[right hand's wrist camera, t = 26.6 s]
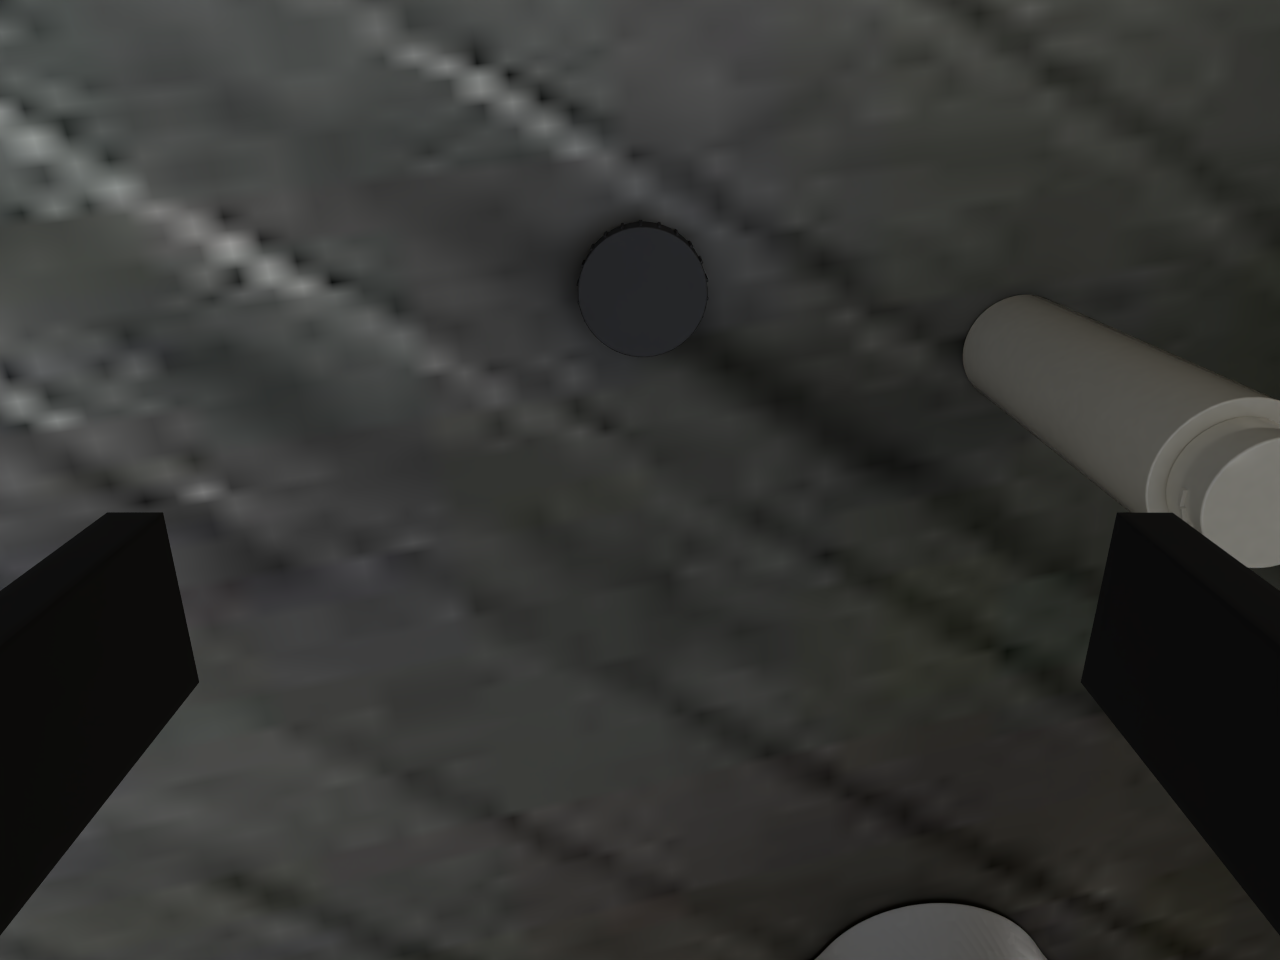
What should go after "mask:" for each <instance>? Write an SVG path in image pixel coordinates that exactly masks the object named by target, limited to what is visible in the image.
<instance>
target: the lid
mask: <svg viewBox="0 0 1280 960" xmlns="http://www.w3.org/2000/svg"><path fill="white" fill-rule="evenodd" d="M702 263H703V262H702V259H701V257H700V256H699V257H698V256H697V254H696V252H695V250H694V249H693V246H692V243H691V242H690V241H689V242H688V241H687V240H686V239H685V238H684V237H682V236H681V235H680V234H679V233H678V231H677V230H676V229H675V230H672V229H670V228H668V227H666V226H663V225H661V223H660V222H658V223H651V222H642V220H639V222H634V223H629V224H625V225H624V223H622V224H621V226H619V227H617V228H615V229H613V230H611V231H610V232H607V231H606V232H605V234H604V236H603V237H602V238H601V239H600V240H599V241H598V242H597V243H596V244H595V245H594V244H592V246H591V249H590V252H589V254H588V256H587V258H586V260H583V263H582V265H581V267H582V271H581V274H580V278H579V279H578V282H577V286H578V304H579V306H580V310H581V313H582V316H583V318H584V321H585V322H586V324H587V326H588V327H589V329H590V330H591V332H592V333H593V334H594V335H595V336H596V337H597V338H598V339H599V340H600V341H601V342H602V343H603V344H605V345H606V346H607V347H609V348H611V349H613V350H615V351H617V352H619V353H622V354H625V355H629V356H636V357H650V356H656V355H660V354H664V353H666V352H668V351H671V350H673V349H674V348H676V347H678V346H679V345H681V344H682V343H683V342H685V341H686V340H687V339H688V338H689V337H690V336H691V335H692V333H693V332H694V331H695V329H696V328H697V326H698V325H699V323H700V321H701V319H702V318H703V314H704V311H705V308H706V303H707V300H708V296H707V282H708V278H707V276H706V274H705V272H704V269H703V267H702Z"/></svg>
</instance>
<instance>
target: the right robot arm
mask: <svg viewBox="0 0 1280 960" xmlns="http://www.w3.org/2000/svg"><path fill="white" fill-rule="evenodd" d="M198 683H199V679H198V675H197V670H196V665H195V661H194V656H193V651H192V647H191V642H190V637H189V633H188V628H187V623H186V618H185V614H184V609H183V604H182V600H181V595H180V590H179V586H178V581H177V576H176V572H175V567H174V562H173V557H172V553H171V548H170V543H169V539H168V534H167V529H166V525H165V520H164V515H163V513H106V514H105V515H103V516H102V517H101V518H99V519H98V520H96V521H95V522H94V523H92V524H91V525H90V526H88V527H87V528H86V529H84V530H83V531H82V532H80V533H79V534H77V535H76V536H75V537H73V538H72V539H71V540H69V541H68V542H67V543H65V544H64V545H62V546H61V547H60V548H58V549H57V550H56V551H54V552H53V553H52V554H50V555H49V556H47V557H46V558H45V559H43V560H42V561H41V562H39V563H38V564H37V565H35V566H34V567H33V568H31V569H30V570H28V571H27V572H26V573H24V574H23V575H22V576H20V577H19V578H18V579H16V580H15V581H13V582H12V583H11V584H9V585H8V586H7V587H5V588H4V589H3V590H1V591H0V935H1V934H2V932H3V931H4V930H5V929H6V927H7V926H8V925H9V924H10V922H11V921H12V920H13V918H14V917H15V916H16V915H17V913H18V912H19V911H20V910H21V908H22V907H23V906H24V904H25V903H26V902H27V901H28V899H29V898H30V897H31V896H32V894H33V893H34V892H35V890H36V889H37V888H38V887H39V885H40V884H41V883H42V882H43V880H44V879H45V878H46V876H47V875H48V874H49V873H50V871H51V870H52V869H53V868H54V866H55V865H56V864H57V862H58V861H59V860H60V859H61V857H62V856H63V855H64V854H65V852H66V851H67V850H68V848H69V847H70V846H71V845H72V843H73V842H74V841H75V840H76V838H77V837H78V836H79V834H80V833H81V832H82V831H83V829H84V828H85V827H86V826H87V824H88V823H89V822H90V820H91V819H92V818H93V817H94V815H95V814H96V813H97V812H98V810H99V809H100V808H101V806H102V805H103V804H104V803H105V801H106V800H107V799H108V798H109V796H110V795H111V794H112V792H113V791H114V790H115V789H116V787H117V786H118V785H119V784H120V782H121V781H122V780H123V778H124V777H125V776H126V775H127V773H128V772H129V771H130V770H131V768H132V767H133V766H134V764H135V763H136V762H137V761H138V759H139V758H140V757H141V756H142V754H143V753H144V752H145V750H146V749H147V748H148V747H149V745H150V744H151V743H152V742H153V740H154V739H155V738H156V736H157V735H158V734H159V733H160V731H161V730H162V729H163V728H164V726H165V725H166V724H167V722H168V721H169V720H170V719H171V717H172V716H173V715H174V714H175V712H176V711H177V710H178V708H179V707H180V706H181V705H182V703H183V702H184V701H185V700H186V698H187V697H188V696H189V694H190V693H191V692H192V691H193V689H194V688H195V687H196V686H197V684H198ZM1081 683H1082V684H1083V686H1084V687H1085V688H1086V689H1087V691H1088V692H1089V693H1090V694H1091V696H1092V697H1093V698H1094V700H1095V701H1096V702H1097V703H1098V705H1099V706H1100V707H1101V708H1102V710H1103V711H1104V712H1105V714H1106V715H1107V716H1108V717H1109V719H1110V720H1111V721H1112V722H1113V724H1114V725H1115V726H1116V728H1117V729H1118V730H1119V731H1120V733H1121V734H1122V735H1123V736H1124V738H1125V739H1126V740H1127V742H1128V743H1129V744H1130V745H1131V747H1132V748H1133V749H1134V750H1135V752H1136V753H1137V754H1138V756H1139V757H1140V758H1141V759H1142V761H1143V762H1144V763H1145V764H1146V766H1147V767H1148V768H1149V770H1150V771H1151V772H1152V773H1153V775H1154V776H1155V777H1156V778H1157V780H1158V781H1159V782H1160V784H1161V785H1162V786H1163V787H1164V789H1165V790H1166V791H1167V792H1168V794H1169V795H1170V796H1171V798H1172V799H1173V800H1174V801H1175V803H1176V804H1177V805H1178V806H1179V808H1180V809H1181V810H1182V812H1183V813H1184V814H1185V815H1186V817H1187V818H1188V819H1189V820H1190V822H1191V823H1192V824H1193V826H1194V827H1195V828H1196V829H1197V831H1198V832H1199V833H1200V834H1201V836H1202V837H1203V838H1204V840H1205V841H1206V842H1207V843H1208V845H1209V846H1210V847H1211V848H1212V850H1213V851H1214V852H1215V854H1216V855H1217V856H1218V857H1219V859H1220V860H1221V861H1222V862H1223V864H1224V865H1225V866H1226V868H1227V869H1228V870H1229V871H1230V873H1231V874H1232V875H1233V876H1234V878H1235V879H1236V880H1237V882H1238V883H1239V884H1240V885H1241V887H1242V888H1243V889H1244V890H1245V892H1246V893H1247V894H1248V896H1249V897H1250V898H1251V899H1252V901H1253V902H1254V903H1255V904H1256V906H1257V907H1258V908H1259V910H1260V911H1261V912H1262V913H1263V915H1264V916H1265V917H1266V918H1267V920H1268V921H1269V922H1270V924H1271V925H1272V926H1273V927H1274V929H1275V930H1276V931H1277V932H1278V934H1279V935H1280V591H1279V590H1277V589H1276V588H1275V587H1273V586H1272V585H1271V584H1269V583H1268V582H1267V581H1265V580H1264V579H1262V578H1261V577H1260V576H1258V575H1257V574H1256V573H1254V572H1253V571H1252V570H1250V569H1249V568H1247V567H1246V566H1245V565H1243V564H1242V563H1241V562H1239V561H1238V560H1237V559H1235V558H1234V557H1233V556H1231V555H1230V554H1228V553H1227V552H1226V551H1224V550H1223V549H1222V548H1220V547H1219V546H1218V545H1216V544H1215V543H1213V542H1212V541H1211V540H1209V539H1208V538H1207V537H1205V536H1204V535H1203V534H1201V533H1200V532H1198V531H1197V530H1196V529H1194V528H1193V527H1192V526H1190V525H1189V524H1188V523H1186V522H1185V521H1184V520H1182V519H1181V518H1179V517H1178V516H1177V515H1175V514H1174V513H1117V515H1116V520H1115V525H1114V529H1113V534H1112V539H1111V543H1110V548H1109V553H1108V557H1107V562H1106V567H1105V572H1104V576H1103V581H1102V586H1101V590H1100V595H1099V600H1098V604H1097V609H1096V614H1095V618H1094V623H1093V628H1092V633H1091V637H1090V642H1089V647H1088V651H1087V656H1086V661H1085V665H1084V670H1083V675H1082V679H1081Z"/></svg>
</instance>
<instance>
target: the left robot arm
mask: <svg viewBox="0 0 1280 960" xmlns="http://www.w3.org/2000/svg"><path fill="white" fill-rule="evenodd" d="M815 960H1048V959H1047V958H1046V957H1045V956H1044V955H1043V954H1042V952H1041V951H1040V949H1039V948H1038V946H1037V945H1036V944H1035V942H1034V941H1033V940H1032V938H1031V937H1030V936H1029V935H1028V934H1027V933H1026V932H1025V931H1024V930H1023V929H1021V928H1020V927H1019V926H1018V925H1016V924H1015V923H1013V922H1012V921H1010V920H1008V919H1006V918H1005V917H1003V916H1000V915H998V914H996V913H993V912H991V911H988V910H985V909H982V908H978V907H974V906H968V905H962V904H952V903H928V904H918V905H911V906H906V907H901V908H897V909H893V910H890V911H887V912H884V913H881V914H878V915H875V916H873V917H871V918H869V919H866V920H864V921H862V922H860V923H859V924H857V925H855V926H853V927H852V928H850V929H849V930H847V931H846V932H844V933H843V934H842V935H840V936H839V937H838V938H837V939H835V940H834V941H833V942H832V943H831V944H830V945H829V946H828V947H827V948H826V949H825V950H824V951H823V952H822V953H821V954H820V955H819V956H818V957H817V958H816V959H815Z"/></svg>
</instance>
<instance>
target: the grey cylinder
mask: <svg viewBox="0 0 1280 960" xmlns="http://www.w3.org/2000/svg"><path fill="white" fill-rule="evenodd" d="M963 365H964V369H965V373H966V375H967V377H968V379H969V381H970V382H971V384H972V385H973V386H974V388H975V389H976V390H977V391H979V392H980V393H981V394H982V395H984V396H985V397H986V398H987V399H989V400H990V401H991V402H992V403H994V404H995V405H996V406H997V407H999V408H1000V409H1001V410H1002V411H1004V412H1005V413H1006V414H1007V415H1009V416H1010V417H1011V418H1012V419H1014V420H1015V421H1016V422H1017V423H1019V424H1020V425H1021V426H1022V427H1024V428H1025V429H1026V430H1027V431H1029V432H1030V433H1031V434H1032V435H1034V436H1035V437H1036V438H1037V439H1039V440H1040V441H1041V442H1043V443H1044V444H1045V445H1046V446H1048V447H1049V448H1050V449H1051V450H1053V451H1054V452H1055V453H1056V454H1058V455H1059V456H1060V457H1061V458H1063V459H1064V460H1065V461H1066V462H1068V463H1069V464H1070V465H1071V466H1073V467H1074V468H1075V469H1076V470H1078V471H1079V472H1080V473H1081V474H1083V475H1084V476H1085V477H1086V478H1088V479H1089V480H1090V481H1091V482H1093V483H1094V484H1095V485H1096V486H1098V487H1099V488H1100V489H1101V490H1103V491H1104V492H1105V493H1106V494H1108V495H1109V496H1110V497H1111V498H1113V499H1114V500H1115V501H1116V502H1118V503H1119V504H1120V505H1121V506H1123V507H1124V508H1125V509H1126V510H1128V511H1129V512H1130V513H1174V514H1175V515H1177V516H1178V517H1179V518H1181V519H1182V520H1184V521H1185V522H1186V523H1188V524H1189V525H1190V526H1192V527H1193V528H1194V529H1196V530H1197V531H1198V532H1200V533H1201V534H1203V535H1204V536H1205V537H1207V538H1208V539H1209V540H1211V541H1212V542H1213V543H1215V544H1216V545H1218V546H1219V547H1220V548H1222V549H1223V550H1224V551H1226V552H1227V553H1228V554H1230V555H1231V556H1233V557H1234V558H1235V559H1237V560H1238V561H1239V562H1241V563H1242V564H1243V565H1245V566H1246V567H1249V568H1264V567H1272V566H1276V565H1280V400H1278V399H1275V398H1273V397H1271V396H1268V395H1266V394H1264V393H1262V392H1259V391H1257V390H1255V389H1252V388H1250V387H1248V386H1246V385H1243V384H1241V383H1239V382H1236V381H1234V380H1232V379H1230V378H1227V377H1225V376H1223V375H1220V374H1218V373H1216V372H1213V371H1211V370H1209V369H1207V368H1204V367H1202V366H1200V365H1197V364H1195V363H1193V362H1191V361H1188V360H1186V359H1184V358H1181V357H1179V356H1177V355H1175V354H1172V353H1170V352H1168V351H1165V350H1163V349H1161V348H1159V347H1156V346H1154V345H1152V344H1149V343H1147V342H1145V341H1142V340H1140V339H1138V338H1136V337H1133V336H1131V335H1129V334H1126V333H1124V332H1122V331H1120V330H1117V329H1115V328H1113V327H1110V326H1108V325H1106V324H1104V323H1101V322H1099V321H1097V320H1094V319H1092V318H1090V317H1087V316H1085V315H1083V314H1081V313H1078V312H1076V311H1074V310H1071V309H1069V308H1067V307H1065V306H1062V305H1060V304H1058V303H1055V302H1053V301H1051V300H1049V299H1046V298H1044V297H1040V296H1036V295H1017V296H1013V297H1009V298H1006V299H1003V300H1001V301H999V302H997V303H995V304H994V305H992V306H991V307H989V308H988V309H987V310H985V311H984V312H983V313H982V314H981V315H980V316H979V317H978V319H977V320H976V321H975V322H974V324H973V325H972V327H971V329H970V331H969V332H968V335H967V337H966V340H965V344H964V348H963Z"/></svg>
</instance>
